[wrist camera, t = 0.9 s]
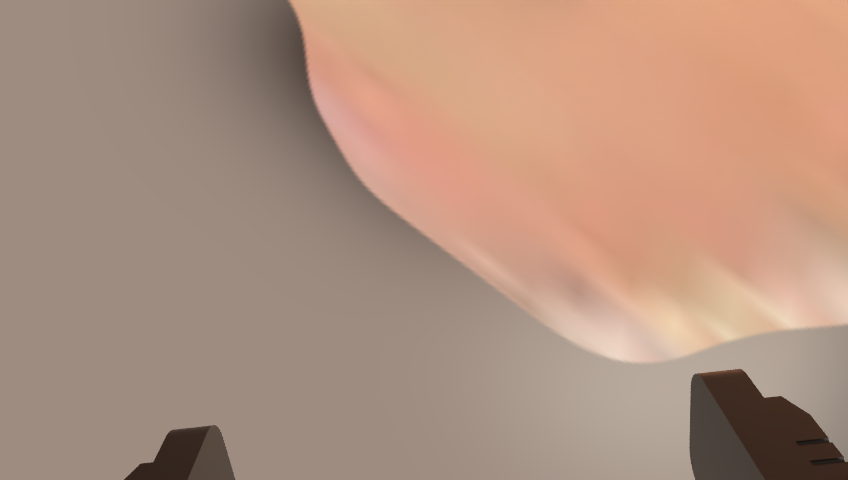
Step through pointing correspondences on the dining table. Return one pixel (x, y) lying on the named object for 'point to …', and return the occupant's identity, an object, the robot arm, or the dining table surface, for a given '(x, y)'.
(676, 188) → the dining table surface
